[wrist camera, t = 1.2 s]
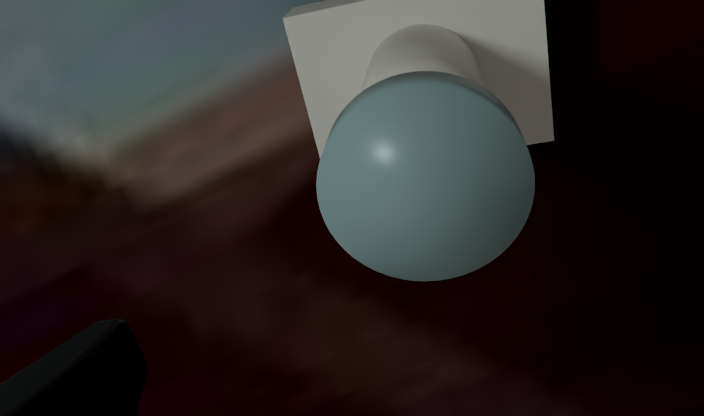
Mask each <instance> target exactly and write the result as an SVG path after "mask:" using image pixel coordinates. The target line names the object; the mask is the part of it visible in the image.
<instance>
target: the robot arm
mask: <svg viewBox="0 0 704 416" xmlns="http://www.w3.org/2000/svg"><path fill="white" fill-rule="evenodd" d="M146 375H147V363H146V359H145V356H144V354H143V352H142V350H141V348H140V346H139V344H138V342H137V340H136V338H135V336H134V334H133V332H132V330H131V328H130V326H129V325H128V323H126V322H125V321H124V320H122V319H113V320H105V321H98V322H95V323H94V324H92V325H90V326H89V327H87V328H86V329H84V330H83V331H81V332H80V333H78V334H77V335H75V336H73V337H72V338H70V339H69V340H67V341H66V342H64V343H63V344H61V345H60V346H58V347H57V348H55V349H54V350H52V351H51V352H49V353H47V354H46V355H44V356H43V357H41V358H40V359H38V360H37V361H35V362H34V363H32V364H31V365H29V366H28V367H26V368H25V369H23V370H21V371H20V372H18V373H17V374H15V375H14V376H12V377H11V378H9V379H8V380H6V381H5V382H3V383H2V384H0V416H136V413H137V410H138V406H139V402H140V398H141V395H142V391H143V387H144V383H145V380H146Z"/></svg>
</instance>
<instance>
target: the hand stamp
mask: <svg viewBox="0 0 704 416" xmlns="http://www.w3.org/2000/svg"><path fill="white" fill-rule="evenodd" d="M283 22H284V25H285V29H286V33H287V36H288V40H289V44H290V48H291V51H292V55H293V59H294V63H295V66H296V70H297V74H298V78H299V81H300V85H301V89H302V92H303V96H304V100H305V104H306V107H307V111H308V115H309V119H310V122H311V126H312V130H313V133H314V137H315V141H316V145H317V148H318V152H319V156H320V163H319V167H318V171H317V182H316V186H317V198H318V203H319V208H320V211H321V214H322V217H323V219H324V221H325V223H326V225H327V227H328V229H329V231H330V232H331V234H332V235H333V237H334V238H335V240H336V241H337V242H338V243H339V244H340V245H341V246H342V248H343V249H344V250H345V251H346V252H348V253H349V254H350V255H351V256H352V257H353V258H355V259H356V260H358V261H359V262H361V263H362V264H364V265H365V266H367V267H369V268H371V269H373V270H375V271H377V272H380V273H383V274H385V275H388V276H392V277H396V278H400V279H406V280H412V281H436V280H444V279H450V278H454V277H458V276H461V275H465V274H467V273H470V272H472V271H474V270H477V269H479V268H481V267H482V266H484V265H486V264H488V263H489V262H491V261H492V260H493V259H495V258H496V257H498V256H499V255H500V254H501V253H502V252H503V251H504V250H506V249H507V248H508V247H509V246H510V245H511V243H512V242H513V241H514V240H515V239H516V237H517V236H518V234H519V233H520V231H521V230H522V228H523V226H524V225H525V222H526V220H527V218H528V216H529V214H530V210H531V207H532V203H533V198H534V190H535V176H534V170H533V164H532V160H531V157H530V154H529V151H528V148H527V146H526V145H530V144H536V143H542V142H548V141H554V132H553V118H552V104H551V91H550V77H549V63H548V49H547V35H546V21H545V8H544V0H325V1H321V2H316V3H312V4H307V5H302V6H298V7H293V8H292V9H291V10H290V11H289V12H288V13H287V14H286V15H285V16H284V17H283Z"/></svg>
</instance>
